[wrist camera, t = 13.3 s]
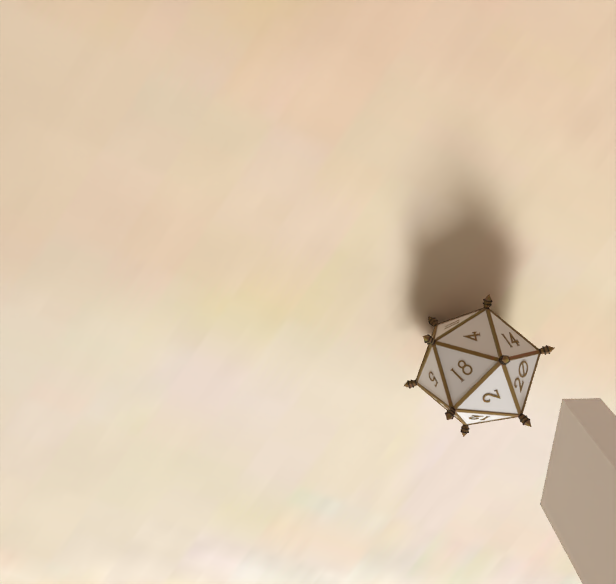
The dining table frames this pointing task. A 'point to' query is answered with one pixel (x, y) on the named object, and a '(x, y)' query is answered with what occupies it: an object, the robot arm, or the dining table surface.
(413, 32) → the dining table surface
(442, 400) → the game die
